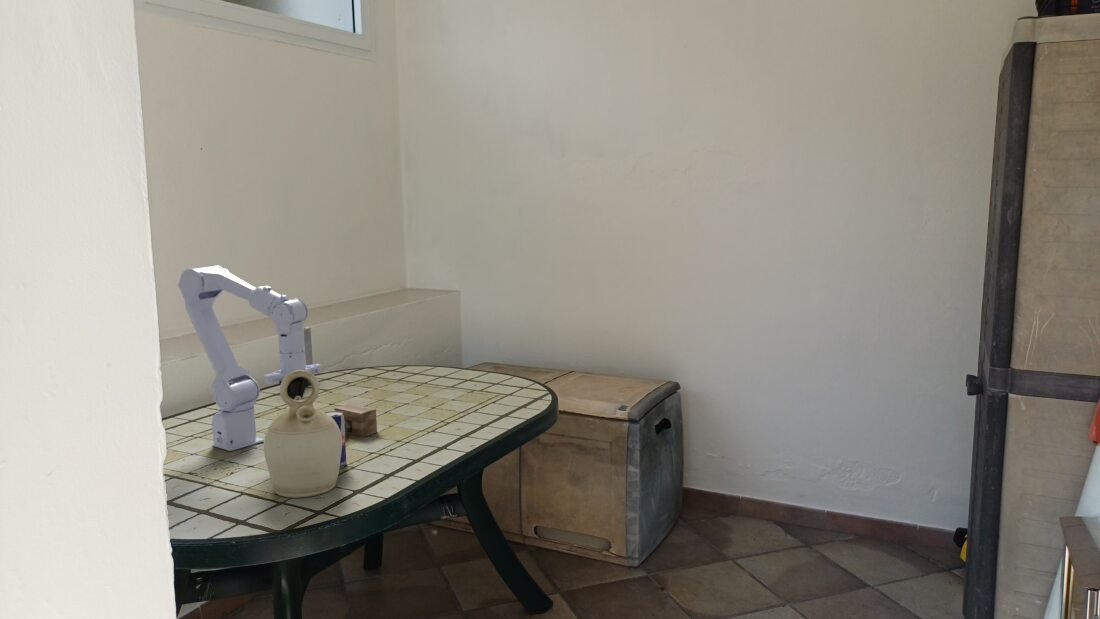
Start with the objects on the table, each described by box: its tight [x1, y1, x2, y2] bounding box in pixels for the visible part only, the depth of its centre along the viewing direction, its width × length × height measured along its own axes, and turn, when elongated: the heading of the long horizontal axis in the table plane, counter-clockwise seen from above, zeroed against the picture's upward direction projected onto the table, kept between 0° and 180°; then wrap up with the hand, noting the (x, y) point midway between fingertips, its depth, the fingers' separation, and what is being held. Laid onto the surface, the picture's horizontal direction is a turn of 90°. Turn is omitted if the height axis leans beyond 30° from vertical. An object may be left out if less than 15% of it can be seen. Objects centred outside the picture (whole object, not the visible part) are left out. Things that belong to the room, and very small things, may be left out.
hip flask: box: [303, 326, 314, 383], centre depth 261 cm, size 16×4×20 cm, turn 177°
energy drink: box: [323, 410, 348, 470], centre depth 184 cm, size 5×5×12 cm
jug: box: [263, 370, 342, 499], centre depth 170 cm, size 15×16×25 cm
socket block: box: [334, 403, 378, 438], centre depth 211 cm, size 5×10×6 cm, turn 53°
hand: (295, 407), depth 196 cm, fingers closed
